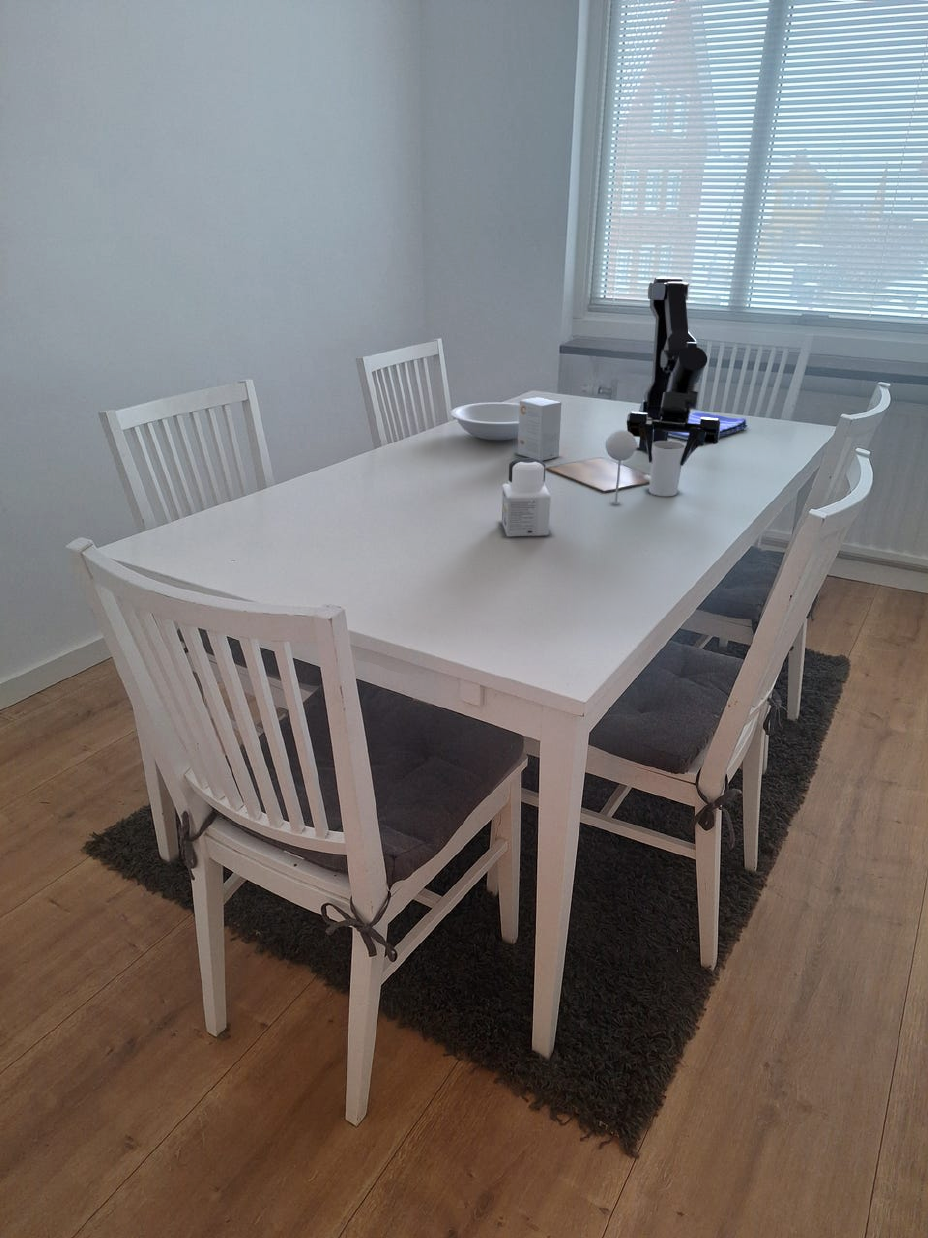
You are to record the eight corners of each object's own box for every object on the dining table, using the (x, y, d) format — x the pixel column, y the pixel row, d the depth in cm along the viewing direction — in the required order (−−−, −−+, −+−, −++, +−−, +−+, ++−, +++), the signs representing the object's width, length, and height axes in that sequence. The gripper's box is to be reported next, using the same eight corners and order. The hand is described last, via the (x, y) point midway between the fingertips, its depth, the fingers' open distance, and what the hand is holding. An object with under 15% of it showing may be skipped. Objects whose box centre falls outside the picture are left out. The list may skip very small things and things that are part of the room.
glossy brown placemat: (600, 459, 193) (600, 457, 193) (660, 480, 178) (660, 479, 178) (546, 469, 186) (546, 467, 185) (604, 492, 170) (604, 490, 170)
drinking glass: (682, 489, 173) (688, 443, 168) (675, 498, 167) (681, 450, 163) (650, 485, 175) (656, 439, 171) (643, 494, 170) (648, 447, 165)
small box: (559, 457, 195) (562, 402, 189) (540, 461, 191) (542, 405, 185) (535, 450, 200) (538, 396, 194) (516, 454, 196) (518, 399, 191)
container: (501, 522, 154) (503, 455, 148) (541, 521, 155) (545, 454, 149) (506, 537, 147) (508, 467, 141) (548, 536, 148) (552, 466, 142)
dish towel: (748, 428, 221) (750, 418, 219) (703, 444, 206) (704, 433, 204) (693, 418, 232) (694, 408, 230) (645, 432, 217) (647, 421, 215)
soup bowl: (485, 422, 225) (485, 398, 222) (560, 435, 213) (562, 410, 210) (432, 440, 208) (431, 414, 205) (511, 455, 195) (511, 428, 192)
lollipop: (633, 501, 165) (640, 428, 159) (628, 510, 160) (636, 435, 154) (603, 498, 167) (609, 425, 160) (597, 507, 162) (603, 432, 155)
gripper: (632, 371, 167) (617, 437, 162) (727, 378, 161) (714, 446, 157) (635, 402, 177) (621, 465, 173) (724, 410, 171) (711, 475, 167)
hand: (665, 463), depth 167 cm, fingers closed on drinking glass, 6 cm apart
